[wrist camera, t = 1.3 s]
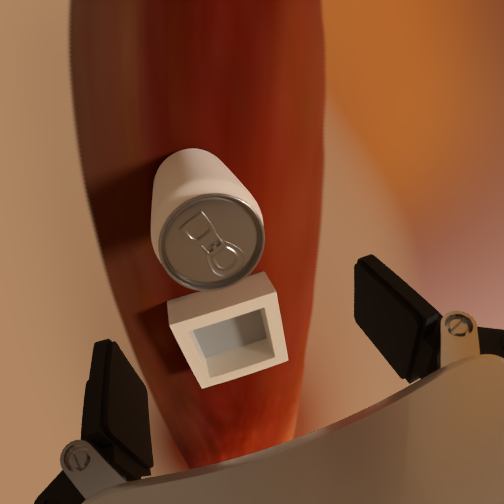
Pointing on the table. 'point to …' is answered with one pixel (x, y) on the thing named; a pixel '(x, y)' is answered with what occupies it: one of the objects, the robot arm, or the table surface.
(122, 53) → the table surface
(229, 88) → the table surface
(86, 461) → the robot arm
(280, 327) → the dock socket
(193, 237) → the can
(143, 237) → the table surface
